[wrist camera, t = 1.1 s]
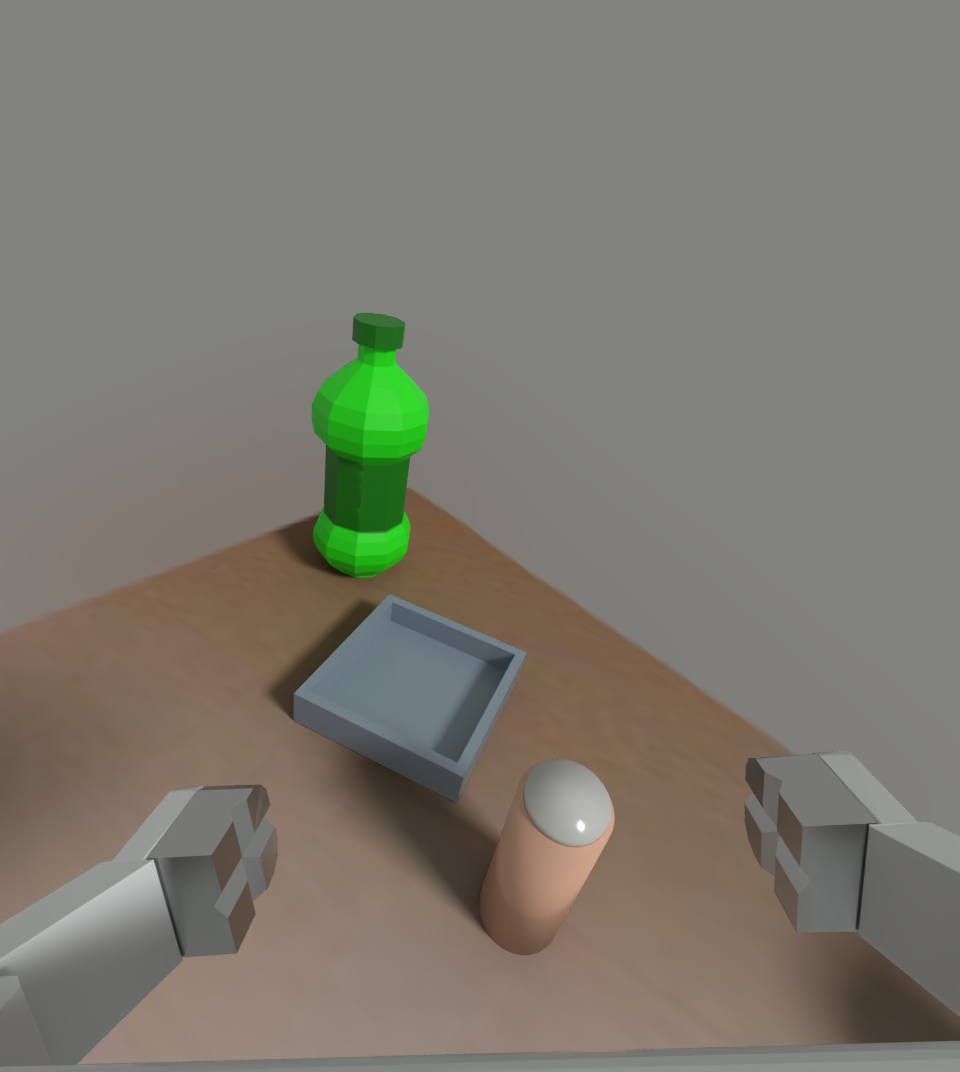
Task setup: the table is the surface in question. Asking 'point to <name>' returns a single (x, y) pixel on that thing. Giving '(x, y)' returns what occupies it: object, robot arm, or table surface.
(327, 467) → the plastic bottle
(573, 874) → the pink cylindrical can
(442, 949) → the table surface
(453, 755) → the shallow grey tray
